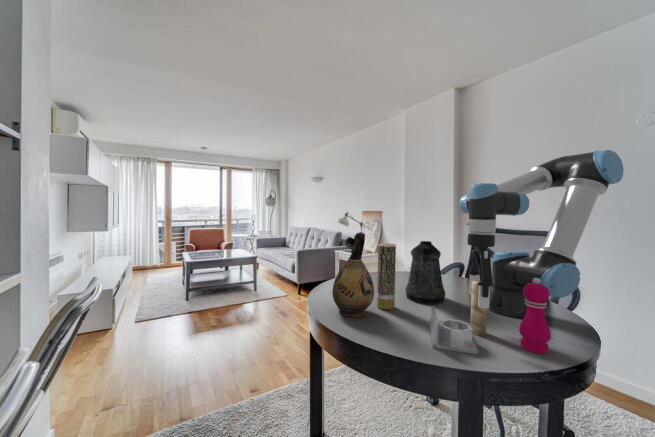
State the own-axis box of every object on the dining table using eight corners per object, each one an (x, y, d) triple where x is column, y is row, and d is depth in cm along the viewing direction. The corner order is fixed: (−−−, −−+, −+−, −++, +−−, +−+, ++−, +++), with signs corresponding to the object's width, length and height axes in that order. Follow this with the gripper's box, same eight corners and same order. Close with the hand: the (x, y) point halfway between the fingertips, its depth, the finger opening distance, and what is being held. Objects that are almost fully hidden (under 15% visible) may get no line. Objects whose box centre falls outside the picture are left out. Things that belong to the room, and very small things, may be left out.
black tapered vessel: (433, 292, 132) (434, 239, 131) (457, 306, 113) (459, 244, 112) (399, 293, 130) (400, 239, 129) (418, 307, 111) (419, 244, 110)
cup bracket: (469, 335, 87) (470, 309, 87) (478, 354, 75) (479, 325, 75) (430, 330, 90) (430, 305, 90) (432, 347, 79) (433, 319, 78)
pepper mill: (512, 342, 83) (515, 274, 82) (535, 341, 83) (538, 274, 83) (532, 355, 75) (535, 281, 75) (557, 354, 76) (560, 281, 75)
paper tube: (393, 304, 114) (394, 243, 113) (395, 310, 107) (397, 245, 106) (376, 304, 115) (377, 243, 114) (377, 310, 108) (378, 245, 107)
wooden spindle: (484, 330, 90) (485, 281, 90) (487, 336, 86) (489, 285, 85) (468, 328, 92) (470, 280, 91) (471, 334, 87) (473, 283, 87)
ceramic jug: (364, 324, 94) (366, 235, 93) (324, 315, 102) (325, 232, 101) (380, 308, 109) (382, 232, 108) (345, 302, 116) (346, 230, 115)
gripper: (461, 230, 101) (458, 288, 101) (476, 235, 77) (473, 312, 77) (484, 231, 99) (481, 291, 99) (508, 237, 75) (504, 316, 75)
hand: (478, 300), depth 88 cm, fingers open, 13 cm apart
